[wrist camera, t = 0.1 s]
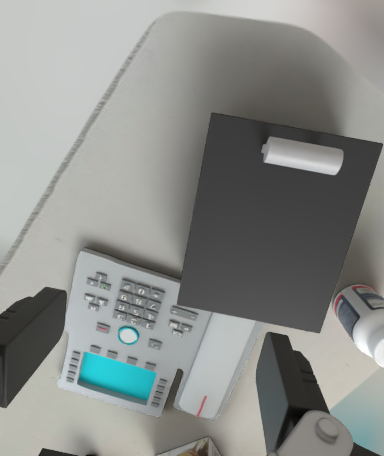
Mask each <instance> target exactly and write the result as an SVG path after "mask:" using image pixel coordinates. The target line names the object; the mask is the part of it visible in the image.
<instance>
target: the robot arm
mask: <svg viewBox="0 0 384 456" xmlns="http://www.w3.org/2000/svg"><path fill="white" fill-rule="evenodd" d="M66 300H67V293H66V291H65V290H60V289H55V288H50V287H45V288H44V289H42V290H41V291H40V292H39V293H38V294H37V295H35V296H34V297H26V298H24V299H22V300H19V301H17V302H15V303H14V304H13V305H11V306H10V307H9V308H8V309H6V311H4V312H3V313H1V314H0V407H3V408H7V406H8V405H9V404H10V403H11V401H12V400H13V399H14V397H15V396H16V395H17V394H18V392H19V391H20V390H21V388H22V387H23V386H24V385H25V383H26V382H27V381H28V380H29V378H30V377H31V376H32V374H33V373H34V372H35V371H36V369H37V368H38V367H39V366H40V364H41V363H42V362H43V360H44V359H45V358H46V357H47V355H48V354H49V353H50V351H51V350H52V349H53V348H54V346H55V345H56V344H57V343H58V341H59V340H60V338H61V336H62V333H63V330H64V326H65V314H66ZM256 385H257V391H258V398H259V404H260V411H261V418H262V424H263V431H264V437H265V444H266V450H267V455H266V456H380V455H378V454H376V453H374V452H372V451H370V450H368V449H365V448H363V447H361V446H359V445H357V444H356V443H354V442H353V440H352V436H351V434H350V432H349V431H348V429H347V428H346V427H345V426H344V425H343V424H342V423H341V422H340V421H339V420H338V419H336V418H335V417H333V416H332V415H330V412H329V410H328V408H327V405H326V403H325V400H324V398H323V395H322V393H321V390H320V388H319V385H318V384H317V380H316V378H315V375H313V370H312V368H311V365H310V363H309V361H308V360H307V359H306V358H305V357H304V356H303V354H302V353H301V352H300V351H295V350H293V349H292V346H291V343H290V341H289V338H288V336H287V335H283V334H278V333H273V332H267V333H266V336H265V339H264V343H263V346H262V350H261V353H260V357H259V360H258V364H257V369H256ZM39 456H77V455H73V454H68V453H63V452H59V451H54V450H49V449H45V448H43V449H42V450H41V452H40V454H39Z"/></svg>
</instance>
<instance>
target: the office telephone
mask: <svg viewBox="0 0 384 456" xmlns="http://www.w3.org/2000/svg"><path fill="white" fill-rule="evenodd" d="M180 283H181V280H180V279H177V278H174V277H171V276H168V275H164V274H161V273H158V272H155V271H152V270H148V269H145V268H142V267H139V266H136V265H133V264H130V263H127V262H124V261H121V260H118V259H116V258H114V257H111V256H109V255H105V254H102V253H99V252H96V251H93V250H90V249H87V248H83V249H82V250H81V251H80V253H79V255H78V258H77V262H76V267H75V273H74V278H73V283H72V288H71V293H70V298H69V303H68V308H67V313H66V318H65V331H66V332H67V333H69V341H68V346H67V351H66V357H65V361H64V366H63V371H62V375H61V377H60V379H59V380H58V382H57V384H58V386H59V387H61V388H63V389H66V390H69V391H72V392H75V393H78V394H82V395H85V396H88V397H91V398H94V399H97V400H100V401H104V402H107V403H110V404H113V405H117V406H120V407H123V408H126V409H130V410H133V411H136V412H139V413H143V414H147V415H151V416H154V417H161V416H162V414H163V409H164V405H165V402H166V399H167V396H168V393H169V391H170V388H171V385H172V382H173V380H174V377H175V374H176V372H177V369H178V368H179V369H181V370H182V371H183V375H182V378H181V381H180V384H179V387H178V390H177V393H176V396H175V400H174V408H175V409H177V410H180V411H183V412H185V413H189V414H192V415H195V416H197V418H198V417H201V418H205V419H208V420H216V419H217V418H219V416H220V414H221V412H222V410H223V409H224V407H225V405H226V403H227V401H228V399H229V397H230V395H231V392H232V390H233V387H234V386H235V385H236V383H237V381H238V379H239V377H240V375H241V373H242V371H243V368H244V366H245V364H246V362H247V360H248V358H249V356H250V353H251V351H252V349H253V347H254V345H255V343H256V341H257V338H258V336H259V334H260V332H261V330H262V328H263V326H264V324H265V323H264V322H259V321H254V320H249V319H244V318H239V317H234V316H229V315H224V314H219V313H214V312H209V311H204V310H199V309H194V308H189V307H184V306H179V305H177V299H178V294H179V288H180Z"/></svg>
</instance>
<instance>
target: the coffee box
mask: <svg viewBox="0 0 384 456" xmlns="http://www.w3.org/2000/svg"><path fill="white" fill-rule="evenodd" d="M157 456H221V455H220V453H219V451H218V450H217V448H216V447H215V445H214V443H213V442H212V440H211V439H210V437H206V438H203V439H200V440H198V441H195V442H192V443H189V444H187V445H184V446H181V447H178V448H176V449H173V450H170V451H168V452H165V453H162V454H159V455H157Z"/></svg>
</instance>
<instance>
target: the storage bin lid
mask: <svg viewBox="0 0 384 456" xmlns="http://www.w3.org/2000/svg"><path fill="white" fill-rule="evenodd" d="M382 147H383V144H382V143H377V142H372V141H366V140H361V139H355V138H350V137H344V136H339V135H333V134H328V133H322V132H316V131H311V130H305V129H300V128H294V127H289V126H283V125H278V124H272V123H267V122H261V121H256V120H250V119H245V118H239V117H234V116H228V115H223V114H217V113H211V118H210V123H209V129H208V134H207V140H206V145H205V151H204V156H203V162H202V167H201V173H200V178H199V184H198V189H197V195H196V200H195V206H194V211H193V217H192V222H191V228H190V233H189V239H188V244H187V250H186V255H185V261H184V266H183V272H182V277H181V283H180V288H179V294H178V299H177V305H179V306H184V307H189V308H194V309H199V310H204V311H209V312H214V313H219V314H224V315H229V316H234V317H239V318H244V319H249V320H254V321H259V322H264V323H269V324H275V325H280V326H285V327H290V328H295V329H300V330H305V331H310V332H315V333H320V331H321V328H322V325H323V322H324V319H325V316H326V313H327V310H328V307H329V304H330V301H331V298H332V295H333V293H334V290H335V287H336V284H337V281H338V278H339V275H340V272H341V269H342V266H343V263H344V260H345V257H346V254H347V251H348V248H349V245H350V242H351V239H352V236H353V233H354V230H355V227H356V224H357V221H358V218H359V215H360V212H361V209H362V206H363V203H364V200H365V197H366V194H367V191H368V188H369V185H370V182H371V179H372V176H373V173H374V170H375V167H376V164H377V162H378V159H379V156H380V153H381V150H382Z"/></svg>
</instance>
